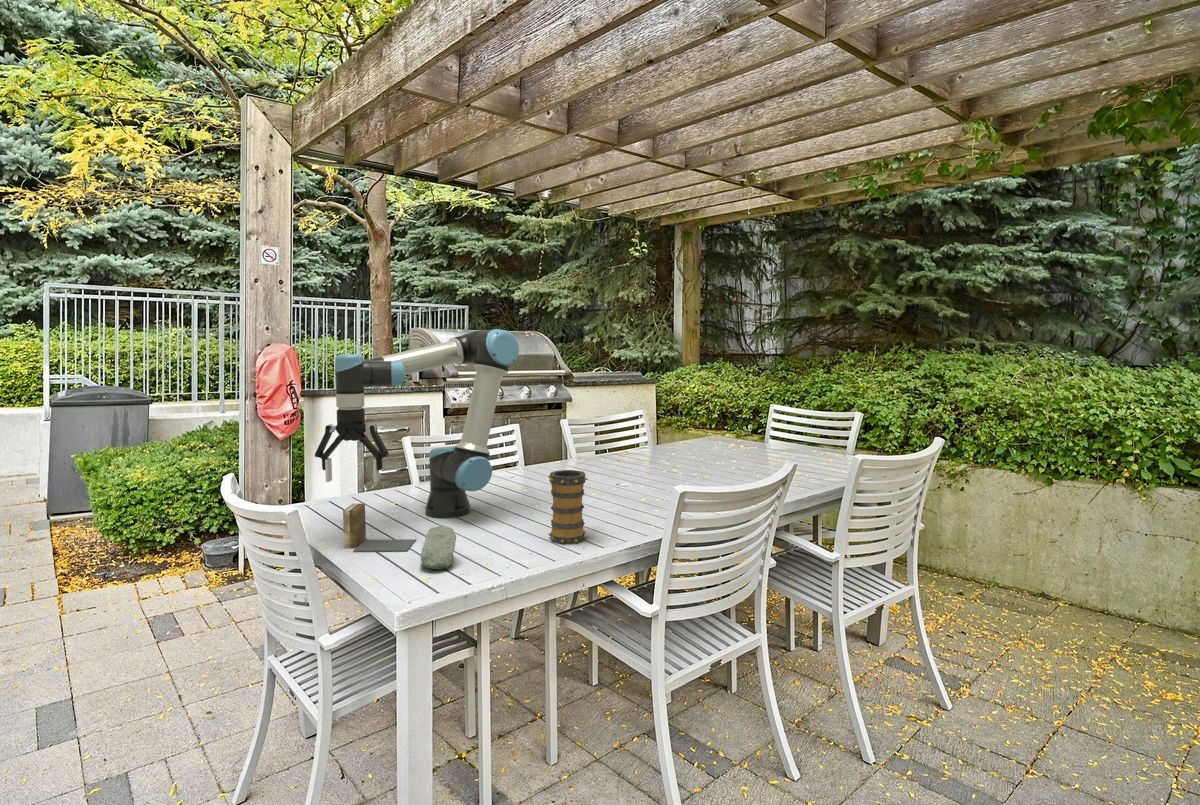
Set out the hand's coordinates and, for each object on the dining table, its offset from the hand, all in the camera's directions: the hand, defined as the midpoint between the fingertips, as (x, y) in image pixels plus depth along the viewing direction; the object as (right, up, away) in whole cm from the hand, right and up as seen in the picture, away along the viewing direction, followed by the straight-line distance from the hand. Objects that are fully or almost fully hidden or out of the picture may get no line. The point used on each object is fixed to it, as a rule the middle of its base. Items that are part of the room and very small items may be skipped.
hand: (352, 481), depth 181 cm
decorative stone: (+29, -20, -15) cm, 38 cm away
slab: (0, -19, +2) cm, 19 cm away
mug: (+62, -18, +9) cm, 66 cm away
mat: (+10, -19, 0) cm, 21 cm away
